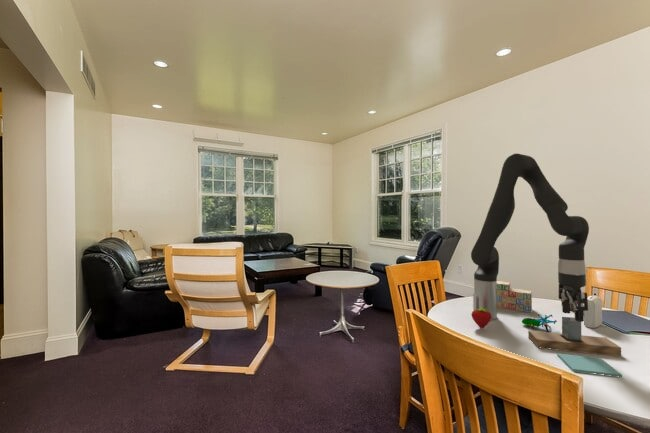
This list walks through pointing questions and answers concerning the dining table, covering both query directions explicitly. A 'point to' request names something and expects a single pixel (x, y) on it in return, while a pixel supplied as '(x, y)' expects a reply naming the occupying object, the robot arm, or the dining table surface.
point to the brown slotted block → (575, 343)
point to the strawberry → (481, 317)
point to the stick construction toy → (538, 322)
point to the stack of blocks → (513, 297)
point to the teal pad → (588, 365)
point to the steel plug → (571, 329)
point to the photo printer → (593, 312)
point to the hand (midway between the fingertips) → (572, 317)
